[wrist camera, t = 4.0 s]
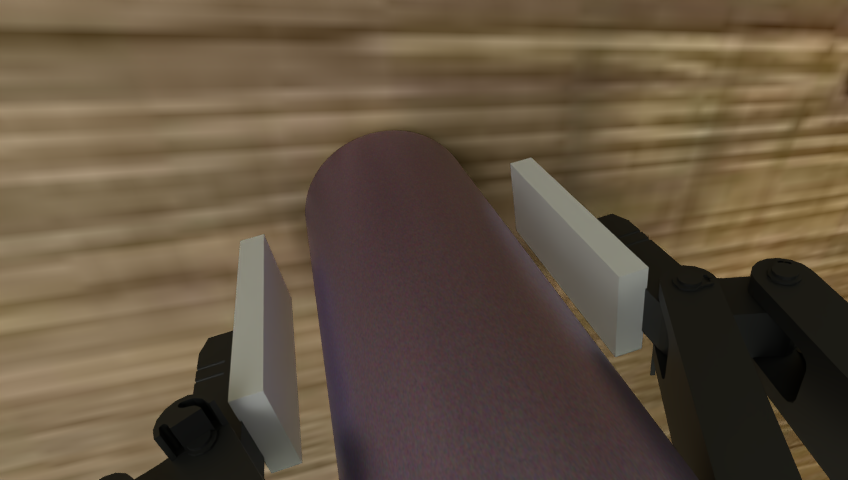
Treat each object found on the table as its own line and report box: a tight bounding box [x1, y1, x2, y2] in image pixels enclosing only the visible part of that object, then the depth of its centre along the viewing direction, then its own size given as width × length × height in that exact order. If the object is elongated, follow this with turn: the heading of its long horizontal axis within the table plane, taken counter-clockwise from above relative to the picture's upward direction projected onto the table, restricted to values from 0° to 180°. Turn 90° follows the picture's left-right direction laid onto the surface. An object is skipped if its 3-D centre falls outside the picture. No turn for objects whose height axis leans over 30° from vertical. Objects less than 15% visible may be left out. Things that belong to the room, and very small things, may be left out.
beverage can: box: [305, 130, 699, 480], centre depth 13 cm, size 6×6×15 cm
